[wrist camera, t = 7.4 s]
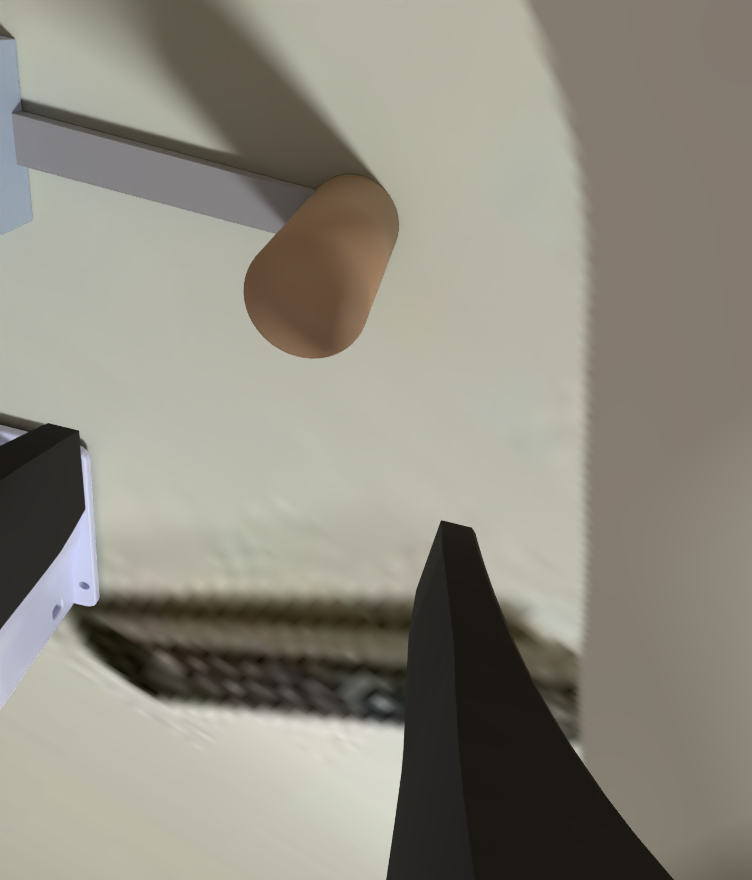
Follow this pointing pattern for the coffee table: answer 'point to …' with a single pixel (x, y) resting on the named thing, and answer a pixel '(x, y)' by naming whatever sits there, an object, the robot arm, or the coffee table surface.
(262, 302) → the block with pull
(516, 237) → the coffee table surface
